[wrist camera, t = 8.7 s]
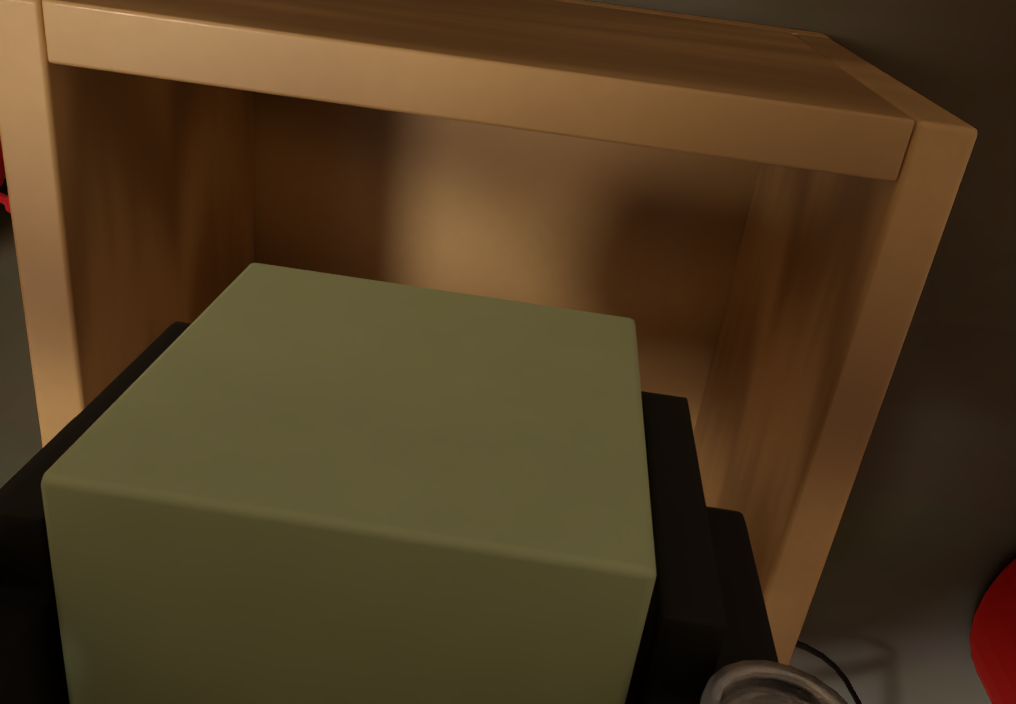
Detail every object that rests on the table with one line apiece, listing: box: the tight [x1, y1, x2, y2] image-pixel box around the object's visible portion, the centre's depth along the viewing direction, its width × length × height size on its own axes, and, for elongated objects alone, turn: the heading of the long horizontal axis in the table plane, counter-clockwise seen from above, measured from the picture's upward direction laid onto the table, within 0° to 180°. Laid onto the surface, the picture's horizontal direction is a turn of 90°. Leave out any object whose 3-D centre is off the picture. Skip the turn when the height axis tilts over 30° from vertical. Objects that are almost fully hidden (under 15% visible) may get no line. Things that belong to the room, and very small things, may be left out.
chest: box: [0, 0, 977, 665], centre depth 19 cm, size 16×13×9 cm
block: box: [41, 263, 657, 704], centre depth 10 cm, size 5×5×5 cm
